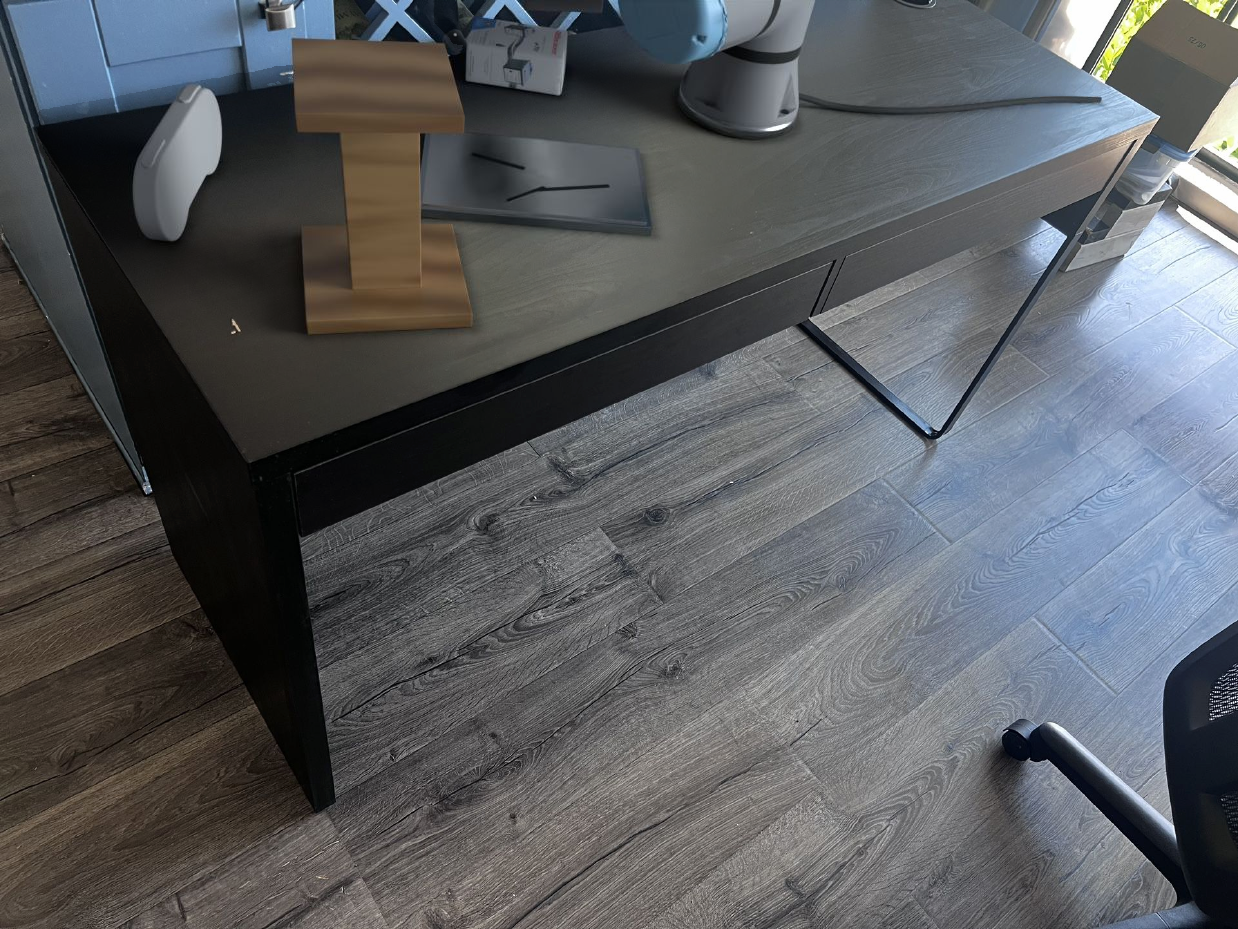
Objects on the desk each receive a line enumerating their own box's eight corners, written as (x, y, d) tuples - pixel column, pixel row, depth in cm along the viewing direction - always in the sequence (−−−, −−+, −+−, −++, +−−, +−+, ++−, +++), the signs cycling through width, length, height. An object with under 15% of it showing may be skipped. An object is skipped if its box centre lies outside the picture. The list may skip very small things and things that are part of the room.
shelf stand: (472, 327, 84) (479, 122, 70) (307, 334, 80) (280, 119, 66) (451, 236, 93) (454, 37, 78) (302, 239, 89) (277, 31, 75)
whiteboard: (637, 156, 108) (639, 146, 108) (651, 236, 98) (653, 225, 97) (426, 136, 105) (426, 125, 104) (415, 216, 94) (415, 205, 93)
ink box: (474, 14, 117) (568, 27, 118) (474, 54, 120) (565, 66, 121) (465, 43, 111) (564, 56, 112) (465, 85, 115) (561, 97, 115)
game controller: (204, 146, 97) (188, 67, 91) (227, 149, 97) (213, 70, 91) (143, 256, 84) (120, 173, 78) (169, 259, 84) (149, 176, 78)
